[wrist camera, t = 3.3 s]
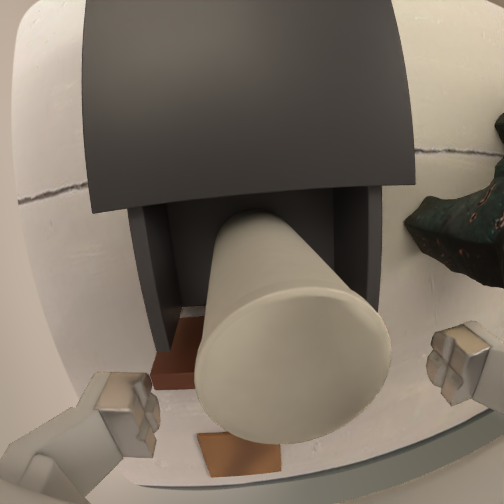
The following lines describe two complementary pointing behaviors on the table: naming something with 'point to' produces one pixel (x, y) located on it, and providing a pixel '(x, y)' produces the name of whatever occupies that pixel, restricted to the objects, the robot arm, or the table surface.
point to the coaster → (238, 455)
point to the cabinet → (241, 99)
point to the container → (284, 337)
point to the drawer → (202, 246)
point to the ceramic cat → (466, 229)
